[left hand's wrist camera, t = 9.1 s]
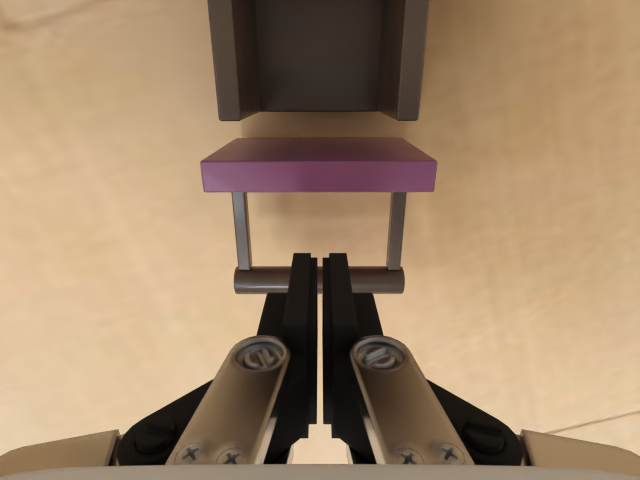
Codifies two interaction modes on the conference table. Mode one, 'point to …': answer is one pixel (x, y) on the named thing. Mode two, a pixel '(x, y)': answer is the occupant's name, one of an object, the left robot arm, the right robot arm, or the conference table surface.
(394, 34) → the drawer
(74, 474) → the left robot arm
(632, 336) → the conference table surface
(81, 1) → the conference table surface
